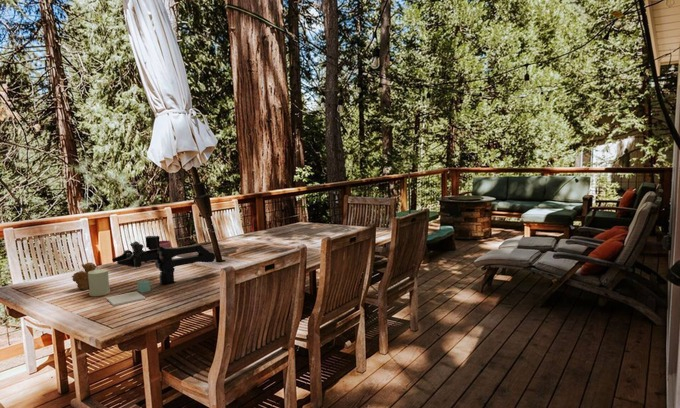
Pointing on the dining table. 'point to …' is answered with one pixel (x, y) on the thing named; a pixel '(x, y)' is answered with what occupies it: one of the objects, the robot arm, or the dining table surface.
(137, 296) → the plate
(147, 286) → the cube
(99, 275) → the can
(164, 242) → the plant pot
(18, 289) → the dining table surface
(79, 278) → the stuffed squirrel
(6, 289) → the dining table surface
